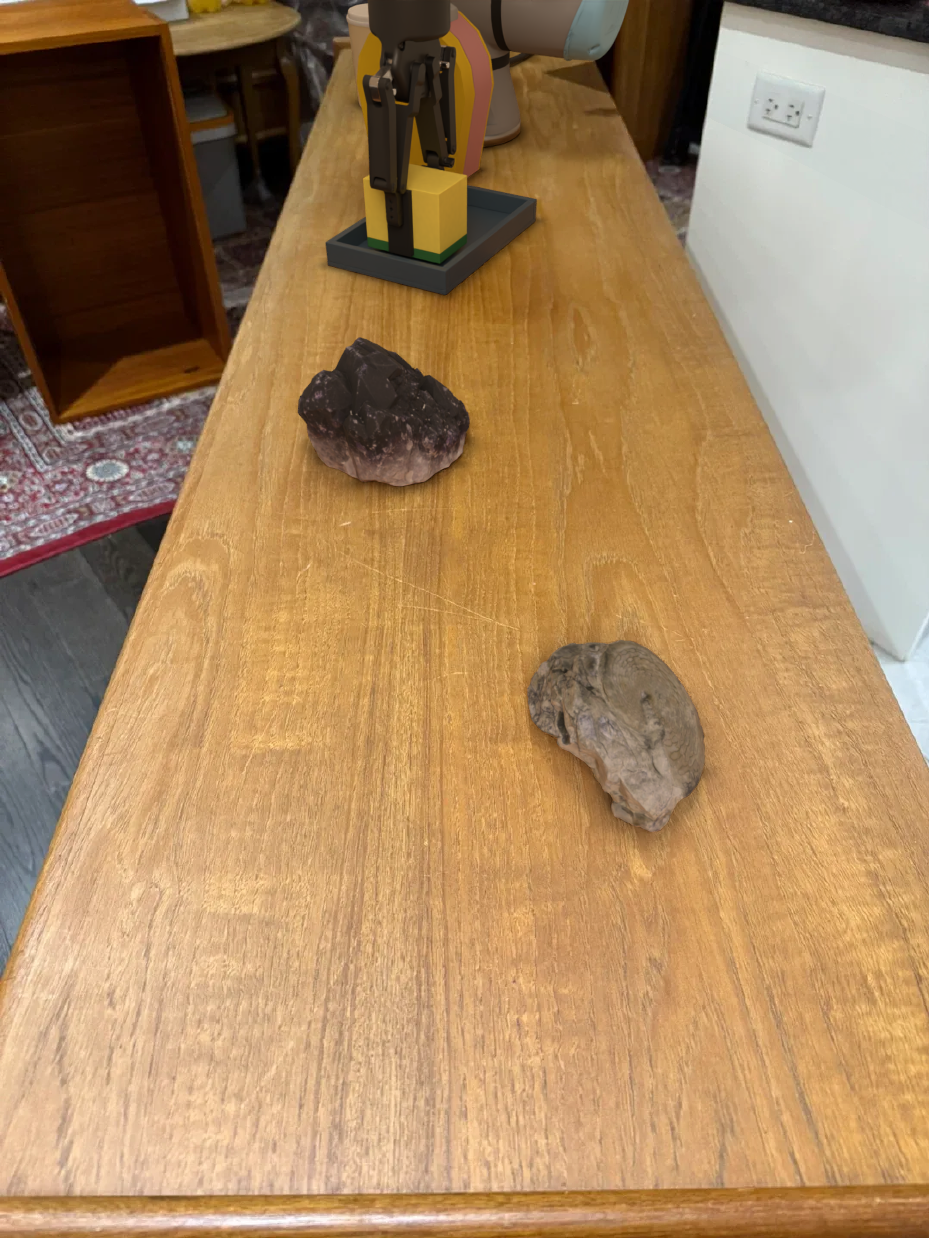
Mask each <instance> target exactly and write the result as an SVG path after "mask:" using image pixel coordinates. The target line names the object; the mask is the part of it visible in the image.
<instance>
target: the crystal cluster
mask: <svg viewBox="0 0 929 1238" xmlns="http://www.w3.org/2000/svg"><path fill="white" fill-rule="evenodd" d="M297 415H298V416H299V417H300V418H301V419H302V420H303V421H304V423H305V425H306V430H307V437H308V438H309V440H310V443H311V445H312V447H313V449H314V450H315V452H316V454H317V456H318V458H319V459H320V461H322V462H323V464H324V465H326V467H328V468H333V469H335V470H338V471H341V472H343V473H345V474H346V475H348V476H350V477H352V478H355V479H358V480H359V481H360V482H362V483H365V482H366V483H367V482H372V481H374V482H379V483H383V484H388V485H391V486H396V487H403V486H408V485H413V484H418V483H424V482H426V481H428V480H429V479H430V478H432V477H433V476H434V475H435V474H436V473H438V472H440V471H442V470H443V469H446V468H449V467H450V466H451V464H453V462H455V461H456V460H458V458H459V457H460V456H461V455H463V453H464V446H465V443H466V436H467V433H468V431H469V428H470V425H471V419H470V413H469V412H468V411H467V409H466V405H465V403H464V402H463V401H462V400H461V399H458V398H457V397H456V396H455V395H454V393H453V392H452V391H451V390H450V388H448V387H447V386H445V385H444V384H443V383H442V382H441V381H439V380H438V379H436V378H435V377H434V376H432V375H431V374H426V375H424V374H423V373H422V372H421V370H420V369H419V368H418V367H416V368H415V367H413V366H412V365H411V364H410V363H409V362H408V361H407V360H405V359H404V358H403V357H402V356H400V354H398V353H397V352H396V351H392V350H388V349H386V348H384V346H381V345H380V344H377V343H375V342H373V341H371V340H369V339H367V338H363V337H361V336H359V337H357V338H356V339H355V340H354V342H353V343H352V344H351V345H348V346H346V347H345V348H344V349H343V352H342V354H341V355H340V357H339V360H338V362H337V364H336V366H335V367H334V368H333V369H332V370H327V369H322V370H321V371H319V372H317V373H316V374H314V376H313V377H312V378H311V380H310V382H309V384H308V385H307V386H306V387H305V388H304V389H303V391H302V393H301V395H300V396H299V398H298V401H297Z"/></svg>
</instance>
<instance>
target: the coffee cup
mask: <svg viewBox="0 0 929 1238" xmlns="http://www.w3.org/2000/svg"><path fill="white" fill-rule="evenodd" d="M345 19H346V22H347V26H348V36H349V42H350V51H351V57H352V59H351V60H352V65H353V73H354V79H355V87H356V94H357V101H358V105H359V106H360V107H361V102H360V97H359V92H358V87H357V70H358V57H359V54H360V52H361V50H362V48H363V45H364V43H365V41H366V39H367V36H368V34H369V33H370V32H371V31H370V28H369V15H368V2H367V3H361V4H356V5H353V6H351V7H349V8H348V10H347V14H346V18H345Z"/></svg>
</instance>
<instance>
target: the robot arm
mask: <svg viewBox="0 0 929 1238" xmlns="http://www.w3.org/2000/svg"><path fill="white" fill-rule="evenodd" d="M629 2H630V0H367V3H368V15H369V28H370V31H371V33H372V34H373V35H374V36H376V37H378V39H379V40H380V42H381V44H382V49H381V57H380V70H379V71H378V72H377V73H376V74H375V75H374V76H372V75H364V77H363V80H362V85H363V90H364V94H365V98H366V103H367V124H368V137H367V146H368V148H367V150H368V151H367V152H368V175H369V178H370V187H371V188H372V189H376V190H381V191H384V194H385V207H386V221H387V228H388V245H389V252H391V253H395V254H399V255H403V256H408V257H412V256H413V255H414V237H413V211H412V190H407V189H406V188H407V179H408V169H409V159H410V150H411V140H412V130H413V120H414V117H415V120H416V125H417V130H418V136H419V141H420V146H421V151H422V156H423V161H424V163H427V166H425V165H421V166H423V167H428V168H433V169H438V170H443V171H445V169H444V167H448V168H452V167H453V166H454V162H455V158H450V157H448V156H449V155H454V154H455V152H456V148H457V145H456V116H455V86H454V71H455V62H456V48H455V47H452V46H445V45H441V44H440V41H439V38H442V37H444V36H445V35H446V34H447V33H448V32H449V30H450V27H451V14H450V3H451V4H453V5H454V6H456V7H457V9H458V11H460V12H461V13H462V14H463V15H464V16H465V17H466V18H467V19H468V20H469V21H470V22H471V23H472V24H473V25H474V26H475V27H476V28H477V29H478V30H479V32H480V34H481V36H482V38H483V40H484V43H485V45H486V47H487V49H488V51H489V53H490V56H491V63H492V71H493V79H494V87H493V92H492V97H491V103H490V108H489V114H488V120H487V126H486V132H485V138H484V144H483V148H485V147H492V146H496V145H501V144H505V143H508V142H510V141H512V140H514V139H515V138H517V137H518V136H519V135H520V132H521V121H522V120H521V112H520V108H519V107H520V106H519V103H518V99H517V94H516V91H515V86H514V83H513V78H512V74H511V67H510V66H511V65H513V64H516V63H519V62H521V61H523V60H524V59H527V58H528V57H530V56H532V55H535V56H541V57H549V58H550V57H551V58H557V59H563V60H564V61H566V62H571V61H587V62H593V61H597V60H599V59H601V58H603V56H605V55H606V54H607V53H608V51H609V50H610V49H611V48H612V46H613V44H614V42H615V41H616V38H617V37H618V34H619V32H620V30H621V27H622V25H623V22H624V18H625V16H626V13H627V10H628V6H629ZM511 53H517V54H516V55H514V56H511ZM440 71H442V73H440ZM395 101H397V102H403V103H409V104H408V105H401V104H396V103H395ZM445 138H447V141H446V140H445Z"/></svg>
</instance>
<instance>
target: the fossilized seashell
mask: <svg viewBox="0 0 929 1238" xmlns="http://www.w3.org/2000/svg"><path fill="white" fill-rule="evenodd" d="M526 694H527V705H528V710H529V715H530V718H531V721H532V723H534V725H535V726H536V727H537V728H538V729H539V730H540V731H542V732H543V733H545V734H547V735H549V736H551V737H553V738H556V744H557V745H558V747H559V748H560V749H562V750H564V751H566V752H568V753H571V754H572V755H573V756H575V757H576V758H578V759H579V760H581V761H582V762H584V763H585V764H586V766H587V767H589V768H590V770H591V773H592V774H593V775H594V777H595V780H596V781H597V782H598V783H599V785H600V786H601V790H603V792H604V793H606V794H609V795H610V797H611V799H612V802H611V805H610V807H611V808H610V809H611V813H612V815H613V817H615V818H617V819H621V820H622V821H623V822H625V823H628V824H630V825H631V826H633V827H634V828H641V829H643V830H645V831H648V832H650V833H656V832H660V831H662V829H663V828H664V827H665V826H666V825H667V824H668V823H669V821H670V819H671V816H672V814H673V812H674V810H675V809H676V807H677V805H678V803H679V802H680V801H682V800H683V799H685V798H687V797H689V796H690V795H691V794H693V792H694V790H695V789H696V788H697V787H698V785H699V782H700V781H701V777H702V775H703V771H704V767H705V763H706V762H705V761H706V754H705V753H706V752H705V751H706V746H705V743H704V742H705V734H704V729H703V726H702V724H701V719H700V714H699V712H698V709H697V706H696V705H695V704H694V702H693V700H692V697H691V696H690V694H689V692H688V691H687V689H686V688H685V686H684V684H683V683H682V682H681V680H680V679H679V677H678V676H677V674H676V673H675V672H674V671H673V670H672V669H671V668H670V667H669V665H668V664H667V663H666V662H665V661H664V660H662V658H660V657H659V656H658V655H657V654H655V653H654V652H653V650H651V649H649V648H648V647H647V646H644V645H643V644H641V643H638V642H636V641H632V640H624V639H618V640H615V641H612V642H609V643H605V642H596V641H593V642H591V641H590V642H584V643H575V642H570V643H568V644H566V645H563V646H559V647H557V648H556V649H555V650H554V651H553V652H552V653H551V655H550V656H549V657H548V658H547V660H544V661H543V662H541V663H540V664H539V666H538V669H537V670H536V671H535V672H534V673H533V675H532V676H531V679H530V682H529V685H528V686H527V687H526Z"/></svg>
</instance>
